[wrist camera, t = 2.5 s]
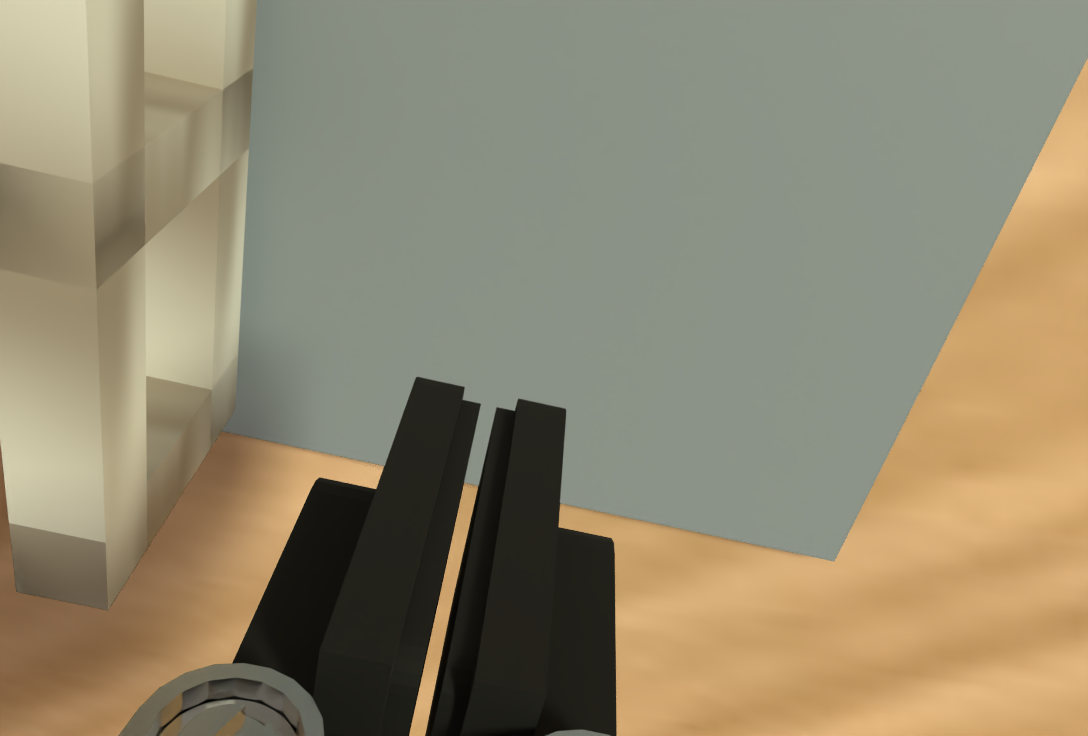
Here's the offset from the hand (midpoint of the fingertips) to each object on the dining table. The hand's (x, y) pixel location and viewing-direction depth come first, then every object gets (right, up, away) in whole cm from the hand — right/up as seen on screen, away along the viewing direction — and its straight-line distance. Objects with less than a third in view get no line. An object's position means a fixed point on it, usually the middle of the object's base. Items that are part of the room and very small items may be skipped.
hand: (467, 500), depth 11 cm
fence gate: (-4, +5, +3) cm, 7 cm away
